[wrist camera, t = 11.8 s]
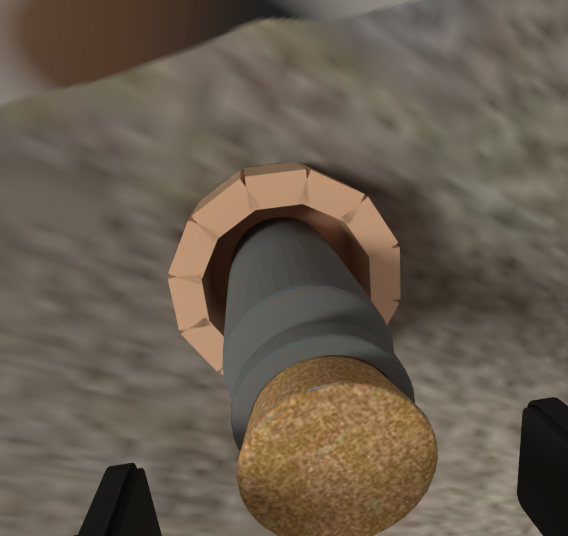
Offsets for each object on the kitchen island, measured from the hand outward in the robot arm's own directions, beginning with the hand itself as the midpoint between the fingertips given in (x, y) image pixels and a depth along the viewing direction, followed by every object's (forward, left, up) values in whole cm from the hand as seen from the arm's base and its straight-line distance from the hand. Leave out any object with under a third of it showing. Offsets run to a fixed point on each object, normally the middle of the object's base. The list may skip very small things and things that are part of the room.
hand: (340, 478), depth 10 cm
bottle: (0, 0, -15) cm, 15 cm away
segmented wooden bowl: (0, -1, -15) cm, 15 cm away
